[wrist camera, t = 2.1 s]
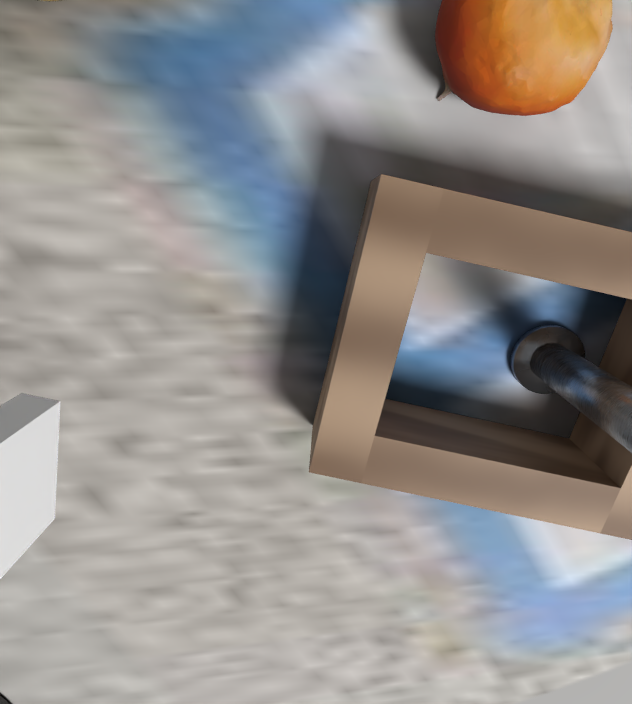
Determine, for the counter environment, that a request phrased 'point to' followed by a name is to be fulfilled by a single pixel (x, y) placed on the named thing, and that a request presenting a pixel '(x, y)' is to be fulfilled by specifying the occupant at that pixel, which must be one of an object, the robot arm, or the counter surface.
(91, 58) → the counter surface
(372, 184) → the walnut box
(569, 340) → the metal post
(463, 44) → the fruit
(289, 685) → the counter surface
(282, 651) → the counter surface
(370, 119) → the counter surface
